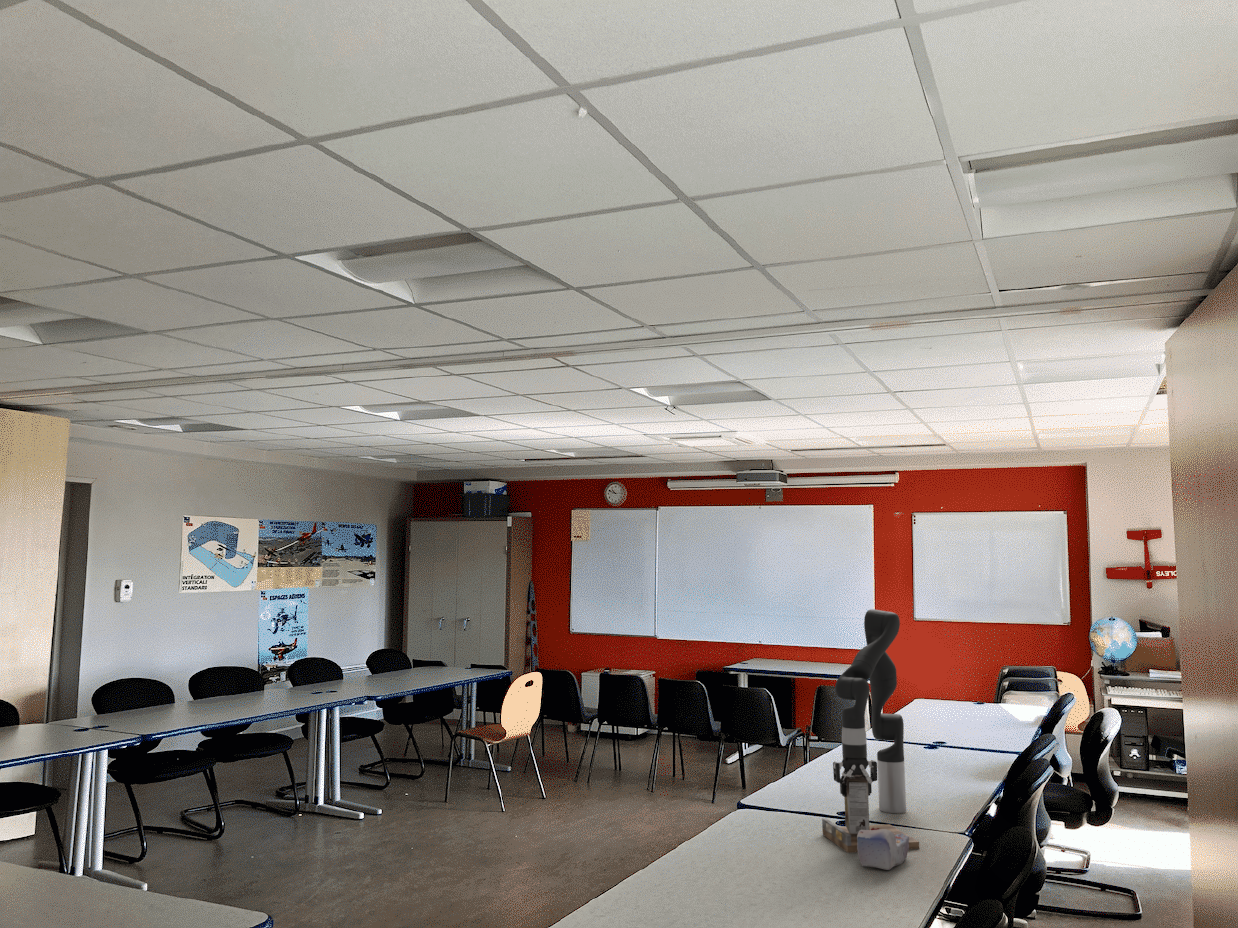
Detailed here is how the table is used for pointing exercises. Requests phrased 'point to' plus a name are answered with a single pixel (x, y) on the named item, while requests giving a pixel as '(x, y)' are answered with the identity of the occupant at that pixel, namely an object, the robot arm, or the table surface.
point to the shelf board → (855, 835)
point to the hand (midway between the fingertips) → (856, 795)
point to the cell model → (881, 848)
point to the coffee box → (857, 804)
